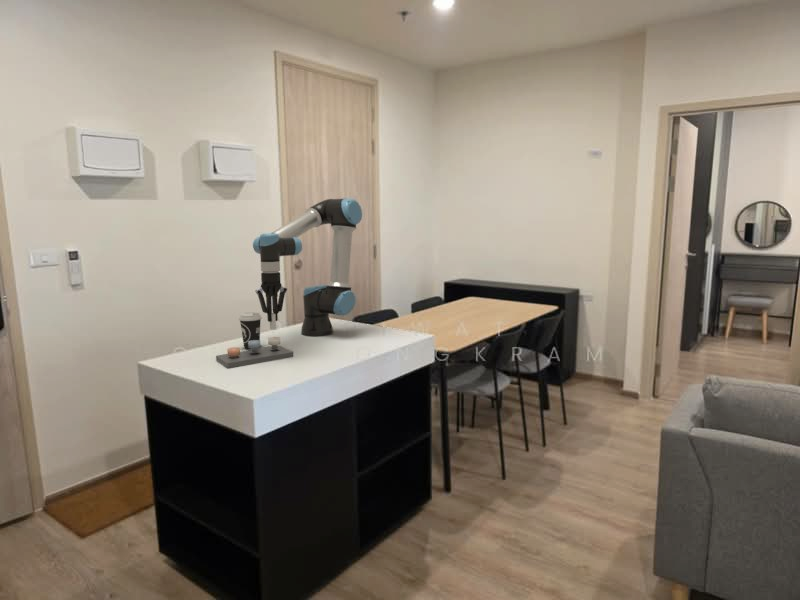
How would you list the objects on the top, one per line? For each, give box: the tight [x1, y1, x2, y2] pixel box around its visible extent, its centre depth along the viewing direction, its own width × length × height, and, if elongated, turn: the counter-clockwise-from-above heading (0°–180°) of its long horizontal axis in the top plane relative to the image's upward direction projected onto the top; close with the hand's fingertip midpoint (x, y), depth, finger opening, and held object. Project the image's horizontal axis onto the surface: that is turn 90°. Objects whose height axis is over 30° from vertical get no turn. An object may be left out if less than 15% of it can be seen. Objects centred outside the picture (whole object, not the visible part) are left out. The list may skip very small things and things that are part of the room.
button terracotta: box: [226, 346, 241, 359], centre depth 215 cm, size 5×5×4 cm
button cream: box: [267, 336, 281, 349], centre depth 224 cm, size 5×5×4 cm
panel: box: [215, 344, 294, 369], centre depth 220 cm, size 27×14×2 cm, turn 126°
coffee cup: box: [238, 311, 262, 351], centre depth 236 cm, size 10×10×15 cm
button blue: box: [248, 339, 262, 352], centre depth 219 cm, size 5×5×4 cm
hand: (273, 329), depth 223 cm, fingers closed
